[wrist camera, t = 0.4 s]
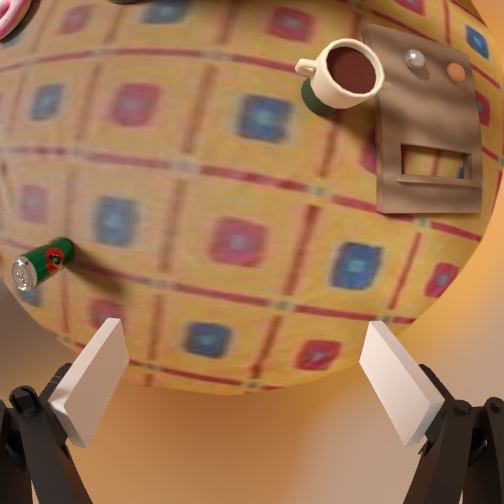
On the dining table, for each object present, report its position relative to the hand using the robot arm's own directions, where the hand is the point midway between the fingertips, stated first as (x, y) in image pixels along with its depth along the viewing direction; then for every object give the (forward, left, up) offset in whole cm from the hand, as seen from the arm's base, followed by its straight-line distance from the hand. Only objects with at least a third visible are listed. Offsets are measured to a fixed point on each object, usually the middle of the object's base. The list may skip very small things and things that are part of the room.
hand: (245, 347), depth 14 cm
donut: (-52, -47, -28) cm, 75 cm away
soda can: (+1, -30, -28) cm, 41 cm away
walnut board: (-17, +31, -27) cm, 45 cm away
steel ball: (-26, +27, -23) cm, 44 cm away
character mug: (-19, +12, -28) cm, 36 cm away
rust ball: (-26, +36, -23) cm, 50 cm away
